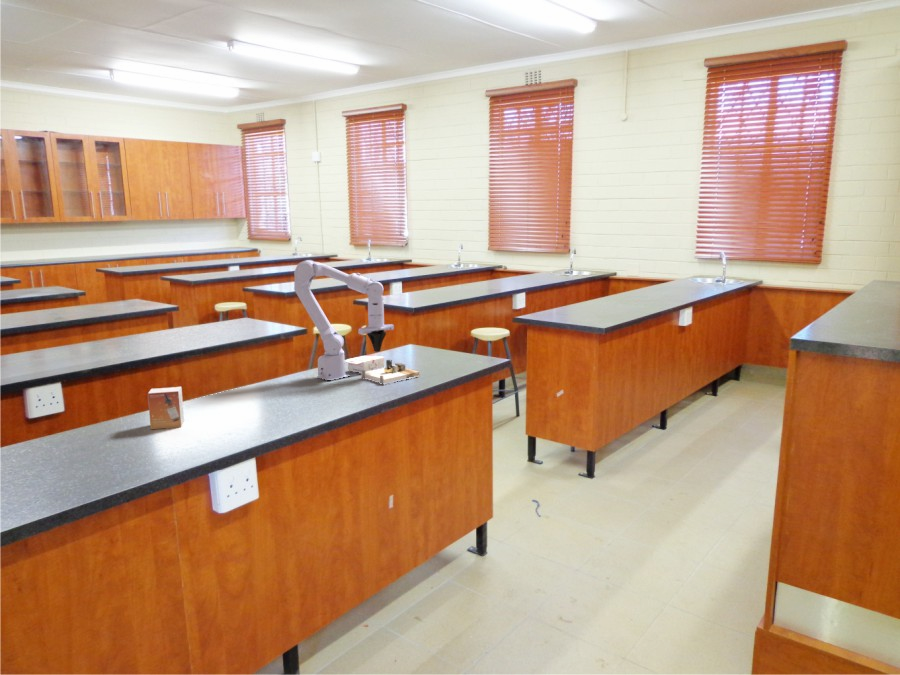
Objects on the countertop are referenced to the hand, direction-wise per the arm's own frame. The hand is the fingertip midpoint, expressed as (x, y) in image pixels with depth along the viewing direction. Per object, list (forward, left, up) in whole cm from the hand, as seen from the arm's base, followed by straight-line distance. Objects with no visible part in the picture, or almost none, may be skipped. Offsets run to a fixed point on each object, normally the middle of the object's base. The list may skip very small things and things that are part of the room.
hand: (377, 351), depth 222 cm
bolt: (+4, -5, -7) cm, 10 cm away
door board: (-1, -5, -9) cm, 11 cm away
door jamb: (+7, -5, -9) cm, 13 cm away
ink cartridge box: (+8, +12, -7) cm, 16 cm away
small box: (-76, -4, -10) cm, 77 cm away
